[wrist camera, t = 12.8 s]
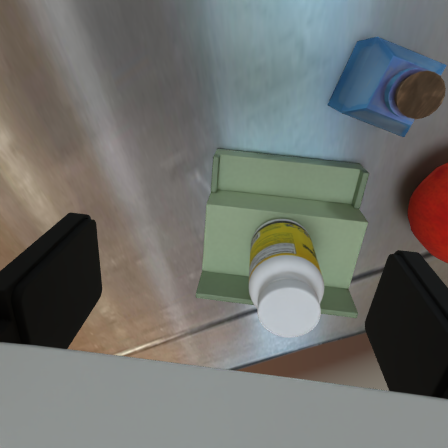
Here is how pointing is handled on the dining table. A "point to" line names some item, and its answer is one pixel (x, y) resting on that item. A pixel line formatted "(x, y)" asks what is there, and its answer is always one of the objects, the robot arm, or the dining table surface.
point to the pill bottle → (285, 278)
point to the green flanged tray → (282, 209)
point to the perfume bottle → (388, 86)
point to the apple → (431, 212)
